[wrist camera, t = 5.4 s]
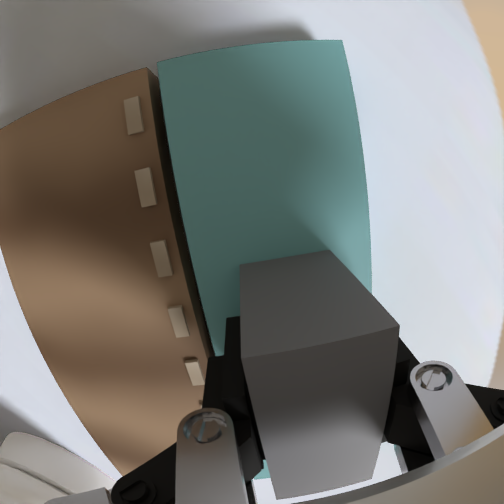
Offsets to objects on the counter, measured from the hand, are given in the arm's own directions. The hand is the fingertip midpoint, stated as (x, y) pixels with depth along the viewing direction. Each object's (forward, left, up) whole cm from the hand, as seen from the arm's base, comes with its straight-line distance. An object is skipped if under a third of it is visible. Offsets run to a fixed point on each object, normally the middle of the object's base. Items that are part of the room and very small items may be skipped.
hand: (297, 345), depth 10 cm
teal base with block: (0, 0, -2) cm, 2 cm away
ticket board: (0, -7, -2) cm, 8 cm away
